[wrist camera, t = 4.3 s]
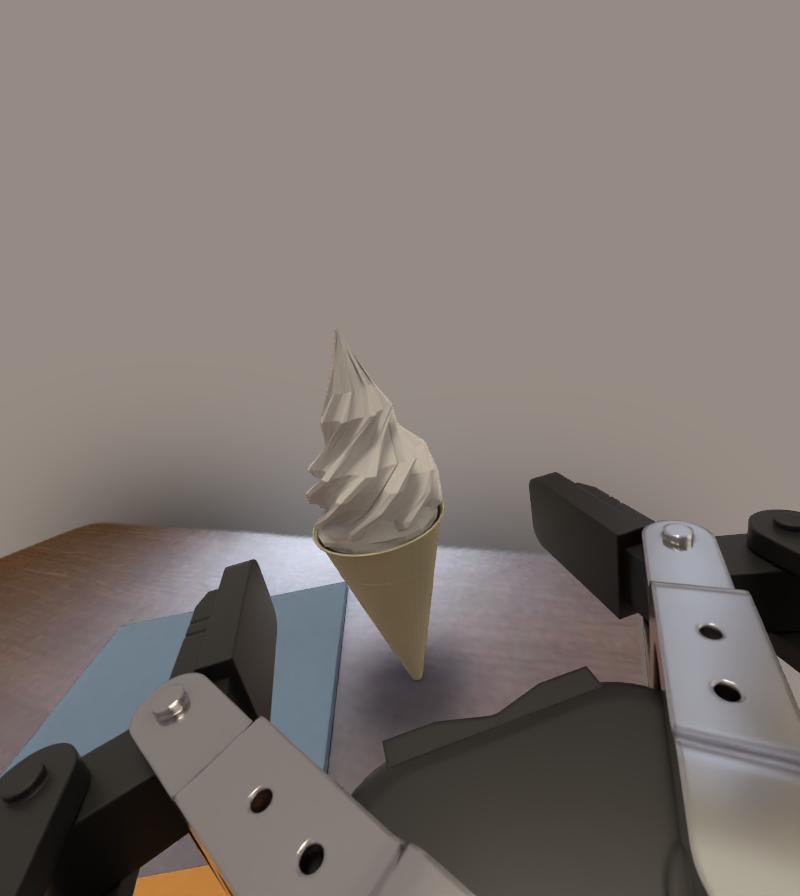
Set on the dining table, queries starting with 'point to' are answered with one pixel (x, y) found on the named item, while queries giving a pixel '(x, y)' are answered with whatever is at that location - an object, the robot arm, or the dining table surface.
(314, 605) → the slate pad
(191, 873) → the caramel pad
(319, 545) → the ice cream cone
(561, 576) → the dining table surface
